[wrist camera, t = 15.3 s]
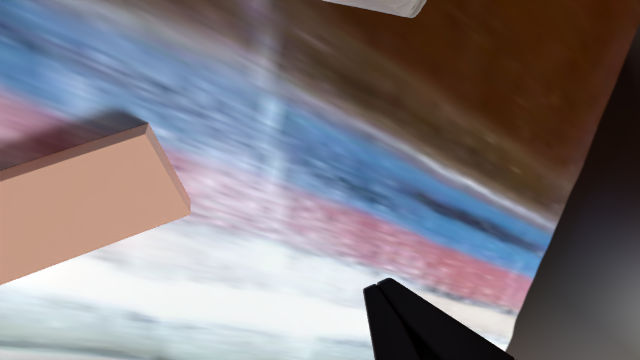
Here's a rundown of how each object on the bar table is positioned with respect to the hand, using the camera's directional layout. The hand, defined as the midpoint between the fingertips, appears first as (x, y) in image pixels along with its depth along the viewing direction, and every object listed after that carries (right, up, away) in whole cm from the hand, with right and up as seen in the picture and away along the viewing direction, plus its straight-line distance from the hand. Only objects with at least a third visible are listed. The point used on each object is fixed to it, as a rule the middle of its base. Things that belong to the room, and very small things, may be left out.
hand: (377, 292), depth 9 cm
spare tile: (-10, +4, +9) cm, 13 cm away
